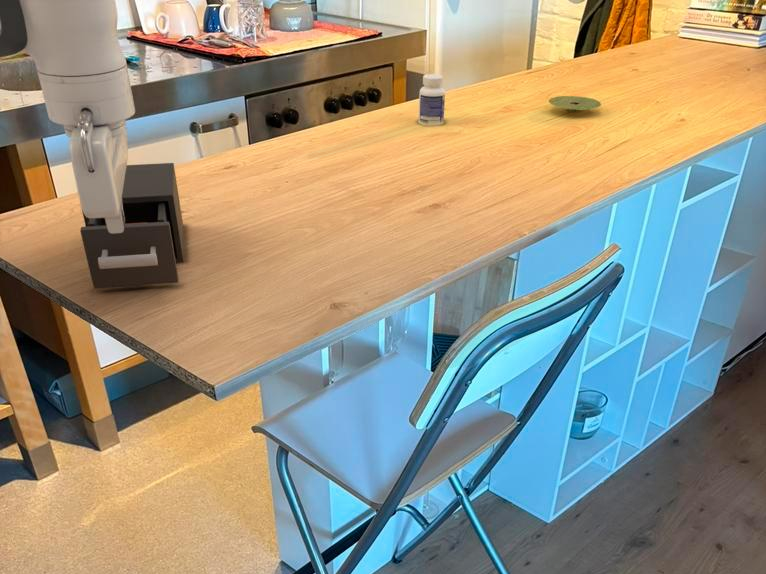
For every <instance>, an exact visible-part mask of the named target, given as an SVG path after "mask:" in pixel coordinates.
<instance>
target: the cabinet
mask: <svg viewBox="0 0 766 574" xmlns="http://www.w3.org/2000/svg"><path fill="white" fill-rule="evenodd" d="M175 169H176V168H175V163H174V162H168V163H167V162H162V163H145V164H143V163H142V164H127V166H126V173H125V180H124V186H123V193H122V204H124V203H142V202H160V201H166V203H167V209H168V215H169V221H170V227H171V233H172V239H173V249H174V255H175V261H176V264H178V263H179V264H180V263H185V262H184V261H185V260H184V259H185V257H184V256H185V254H184V253H185V252H184V250H185V249H184V247H185V246H184V223H183V216H182V209H181V202H180V195H179V189H178V183H177V176H176V170H175ZM81 212H82V217H83V222H84V225H85V226H84V227H88V223H89V218H87V217H86V216H85V215H84V213H83V210H82V209H81Z"/></svg>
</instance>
